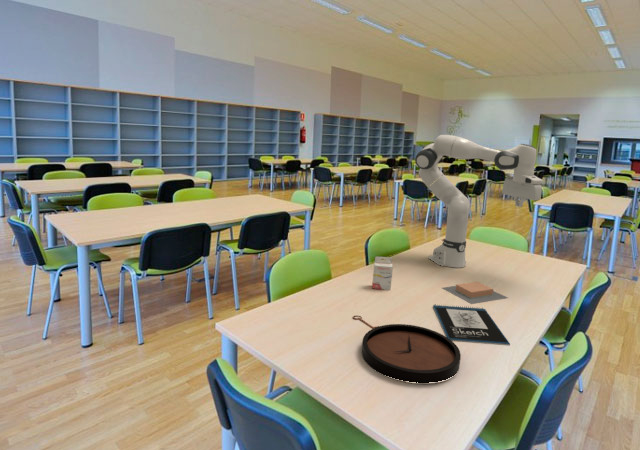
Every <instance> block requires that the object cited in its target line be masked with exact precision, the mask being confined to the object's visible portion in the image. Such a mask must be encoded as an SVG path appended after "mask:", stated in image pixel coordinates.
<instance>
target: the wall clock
mask: <svg viewBox="0 0 640 450" xmlns="http://www.w3.org/2000/svg"><path fill="white" fill-rule="evenodd" d="M378 326H379V327H377V326H375V327H376V328H374V329H372V328H371V329H370V330H369V331H367V332H366V333H365V335H364V336H363V338H362V343H361V355H362V358H363V360H364V361H365V363H366V364H367V365H368V366H369V367H370V368H371V369H373V370H374V371H375V370H376V371H375V372H377V373H378V372H379V374H380V373H381V374H380V375H382V374H383V375H382V376H384V375H386V376H389V377H392V378H395V379H399V380H403V381H409V382H416V383H417V382H418V383H429V382H438V381H442V380H446V379H448V378H450V377H452V376H454V375H455V374H456V373H457V374H458V372H459V371H460V370H459V369H460V364H461V357H462V355H461V351H460V349H459V347H458V346H457V344H456V343H455V342H454V341H451V340H450V339H449V338H447V337H446V335H445V334H444V335H443V334H441V333H440V332H437V331H435V330H432V329H430V328H426V327H423V326H418V325H413V324H405V323H404V324H403V323H397V324H396V323H393V324H384V325H378ZM457 371H458V372H457ZM457 374H456V375H457ZM456 375H455V376H456ZM386 376H385V377H386ZM455 376H454V377H455ZM389 377H388V378H389ZM452 378H453V377H452Z"/></svg>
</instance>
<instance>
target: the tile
mask: <svg viewBox="0 0 640 450" xmlns="http://www.w3.org/2000/svg"><path fill="white" fill-rule="evenodd" d="M455 286H456V291H457V292H459V293H461V294H463V295H465V296H467V297H469V298H478V297H484V296H490V295H493V291H494V288H492V287H490V286H488V285H485V284H483V283H481V282H479V281H473V282H465V283H457V284H455Z"/></svg>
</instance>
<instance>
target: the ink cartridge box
mask: <svg viewBox="0 0 640 450" xmlns="http://www.w3.org/2000/svg"><path fill="white" fill-rule="evenodd" d="M393 269H394V268H393V257H390V256H389V257H388V256H377V255H376V256H375V257H374V262H373V273H372V275H373V276H372V285H371V286H372V289H373V288H374V289H373V290H382V289H384V290H383V291H391V288H392V281H393V280H392V279H393Z"/></svg>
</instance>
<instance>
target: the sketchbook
mask: <svg viewBox="0 0 640 450" xmlns="http://www.w3.org/2000/svg"><path fill="white" fill-rule="evenodd" d="M432 308H433V311H434V313H435V316H436V317H437V319H438V322H439V324H440V327H441V329H442V331H443V334H444V336H445V337H447V338H449V339H450V340H451V341H452V342H461V341H462V342H464V343H476V344H491V345H502V346H510V345H511V343H510V342H509V340H508V339H507V338H506V336H505V334H504V333H503V332H502V331H501V329H500V328H499V326H498V325H497V324H496V322H495V321H494V320H493V318H492V317H491V314H489V313H488V311H487V310H486V308H484V307H476V306H470V307H469V306H468V305H467V306H465V305H464V306H459V305H458V306H457V305H441V304H433V305H432Z"/></svg>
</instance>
